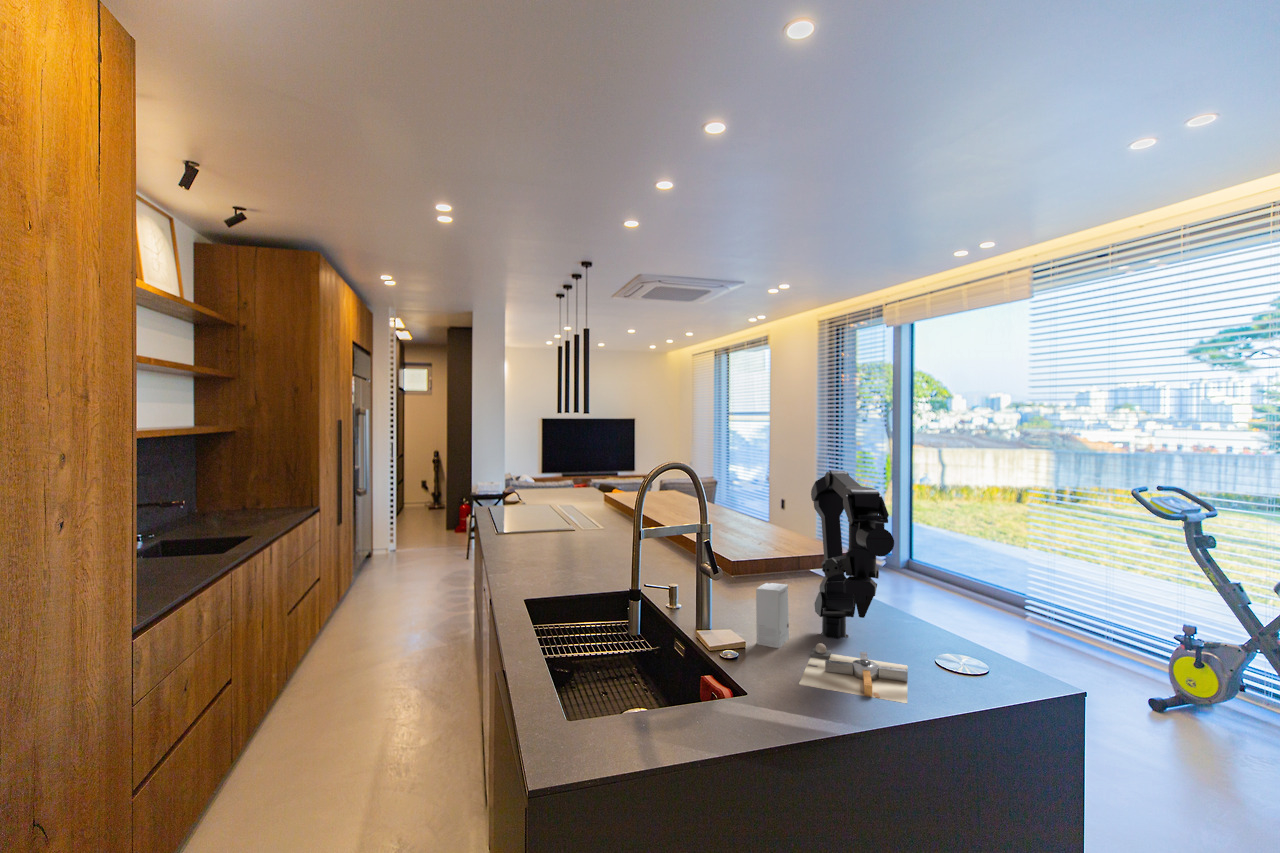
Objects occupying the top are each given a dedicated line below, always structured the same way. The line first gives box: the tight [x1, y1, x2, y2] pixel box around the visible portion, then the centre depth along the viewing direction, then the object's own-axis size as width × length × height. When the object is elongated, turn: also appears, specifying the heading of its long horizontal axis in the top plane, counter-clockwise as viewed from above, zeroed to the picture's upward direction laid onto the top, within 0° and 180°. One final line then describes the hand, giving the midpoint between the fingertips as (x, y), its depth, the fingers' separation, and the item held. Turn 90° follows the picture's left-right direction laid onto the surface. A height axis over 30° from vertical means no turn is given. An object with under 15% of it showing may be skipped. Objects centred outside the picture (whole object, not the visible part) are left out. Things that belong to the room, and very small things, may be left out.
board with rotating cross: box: [798, 642, 909, 704], centre depth 125 cm, size 20×20×4 cm
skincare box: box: [755, 582, 790, 649], centre depth 146 cm, size 8×6×15 cm
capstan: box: [825, 651, 909, 697], centre depth 124 cm, size 16×18×3 cm
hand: (861, 617), depth 131 cm, fingers closed
